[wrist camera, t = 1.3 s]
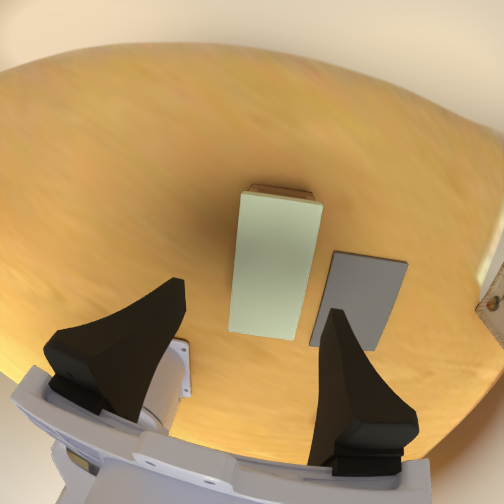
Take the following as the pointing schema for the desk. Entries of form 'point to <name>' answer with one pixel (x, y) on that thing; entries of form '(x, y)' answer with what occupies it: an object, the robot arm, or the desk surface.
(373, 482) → the robot arm
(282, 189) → the box
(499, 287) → the floral patterned box
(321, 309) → the mat
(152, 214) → the desk surface
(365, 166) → the desk surface
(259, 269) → the lid
